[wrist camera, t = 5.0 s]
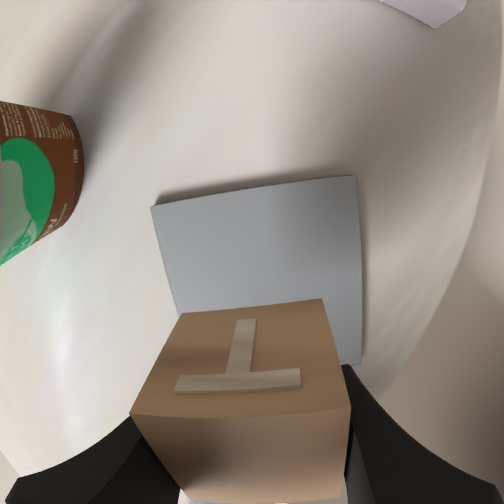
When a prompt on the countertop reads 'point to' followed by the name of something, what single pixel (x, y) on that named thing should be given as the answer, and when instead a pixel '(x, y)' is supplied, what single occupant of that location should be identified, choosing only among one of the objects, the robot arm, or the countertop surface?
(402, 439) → the robot arm
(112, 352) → the countertop surface
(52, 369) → the countertop surface
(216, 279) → the slate board
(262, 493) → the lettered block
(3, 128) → the food container
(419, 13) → the charger
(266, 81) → the countertop surface
